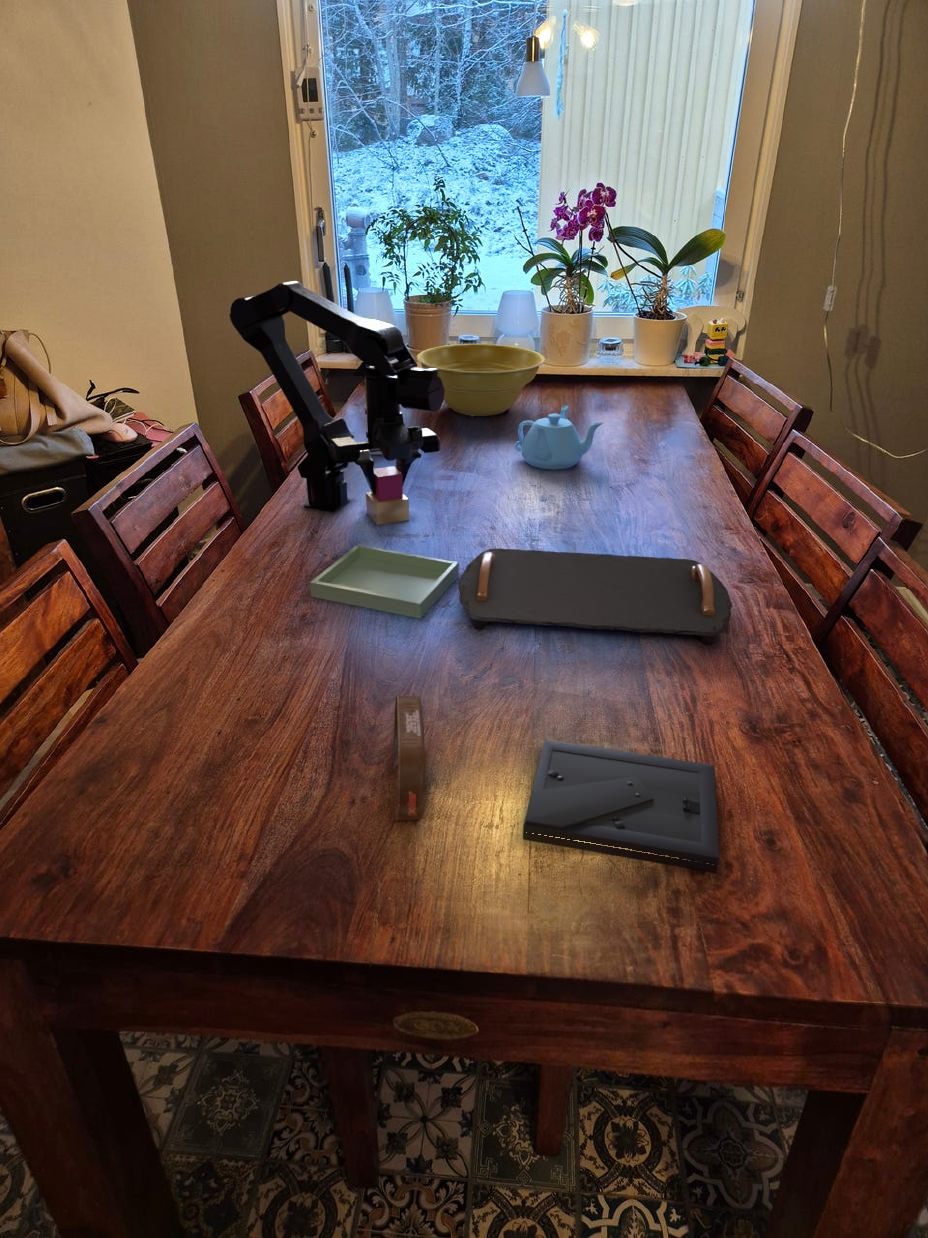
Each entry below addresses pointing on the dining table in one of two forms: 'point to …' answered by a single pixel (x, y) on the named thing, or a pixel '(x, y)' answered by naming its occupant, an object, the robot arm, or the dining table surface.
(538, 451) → the teapot
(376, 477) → the mulberry block
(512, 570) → the serving tray
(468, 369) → the planter bowl
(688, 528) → the dining table surface
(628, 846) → the picture frame
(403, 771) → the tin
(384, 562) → the green tray
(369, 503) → the birch block
